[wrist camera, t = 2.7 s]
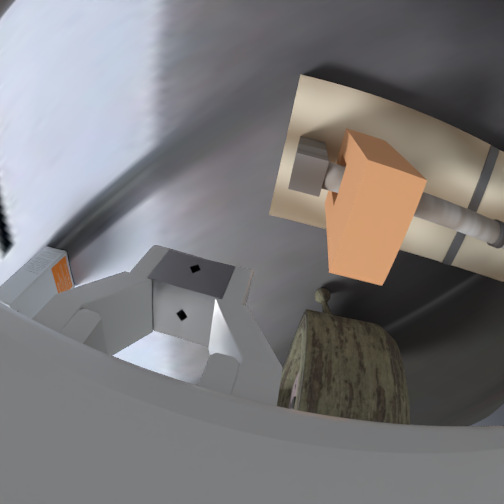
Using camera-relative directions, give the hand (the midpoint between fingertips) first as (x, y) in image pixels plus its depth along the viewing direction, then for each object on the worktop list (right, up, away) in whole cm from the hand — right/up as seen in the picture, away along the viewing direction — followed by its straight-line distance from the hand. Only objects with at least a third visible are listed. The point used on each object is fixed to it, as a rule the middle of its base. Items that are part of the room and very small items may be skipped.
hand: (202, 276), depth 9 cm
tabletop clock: (+11, -8, +26) cm, 30 cm away
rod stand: (+17, +7, +16) cm, 24 cm away
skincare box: (-25, -1, +29) cm, 38 cm away
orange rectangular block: (+9, +7, +13) cm, 17 cm away
